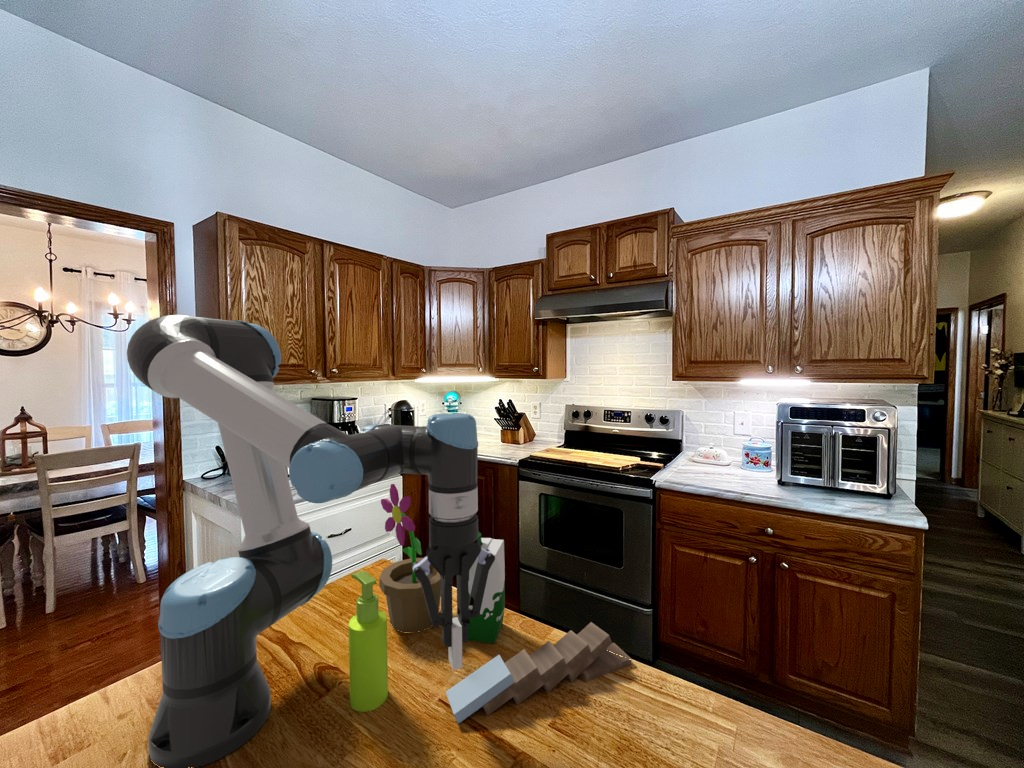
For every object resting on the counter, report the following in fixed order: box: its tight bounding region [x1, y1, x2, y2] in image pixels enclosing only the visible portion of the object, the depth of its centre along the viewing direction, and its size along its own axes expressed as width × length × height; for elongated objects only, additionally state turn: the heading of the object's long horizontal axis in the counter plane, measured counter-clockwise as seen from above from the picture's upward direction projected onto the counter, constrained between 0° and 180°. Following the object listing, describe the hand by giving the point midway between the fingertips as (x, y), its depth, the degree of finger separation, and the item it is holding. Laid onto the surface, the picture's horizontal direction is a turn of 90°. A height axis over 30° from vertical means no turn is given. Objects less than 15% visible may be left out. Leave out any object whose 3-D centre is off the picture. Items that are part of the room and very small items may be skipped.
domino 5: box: [565, 621, 613, 683], centre depth 78 cm, size 2×5×10 cm
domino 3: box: [511, 640, 567, 706], centre depth 73 cm, size 2×5×10 cm
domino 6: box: [579, 642, 632, 683], centre depth 78 cm, size 2×5×10 cm
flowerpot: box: [378, 483, 441, 633], centre depth 92 cm, size 14×14×30 cm
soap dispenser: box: [348, 570, 389, 712], centre depth 70 cm, size 6×7×20 cm
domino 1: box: [445, 654, 514, 724], centre depth 69 cm, size 2×5×10 cm
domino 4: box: [541, 629, 591, 693], centre depth 75 cm, size 2×5×10 cm
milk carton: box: [467, 531, 506, 644], centre depth 87 cm, size 9×9×20 cm
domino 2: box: [482, 648, 540, 717], centre depth 70 cm, size 2×5×10 cm
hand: (455, 663), depth 67 cm, fingers closed
